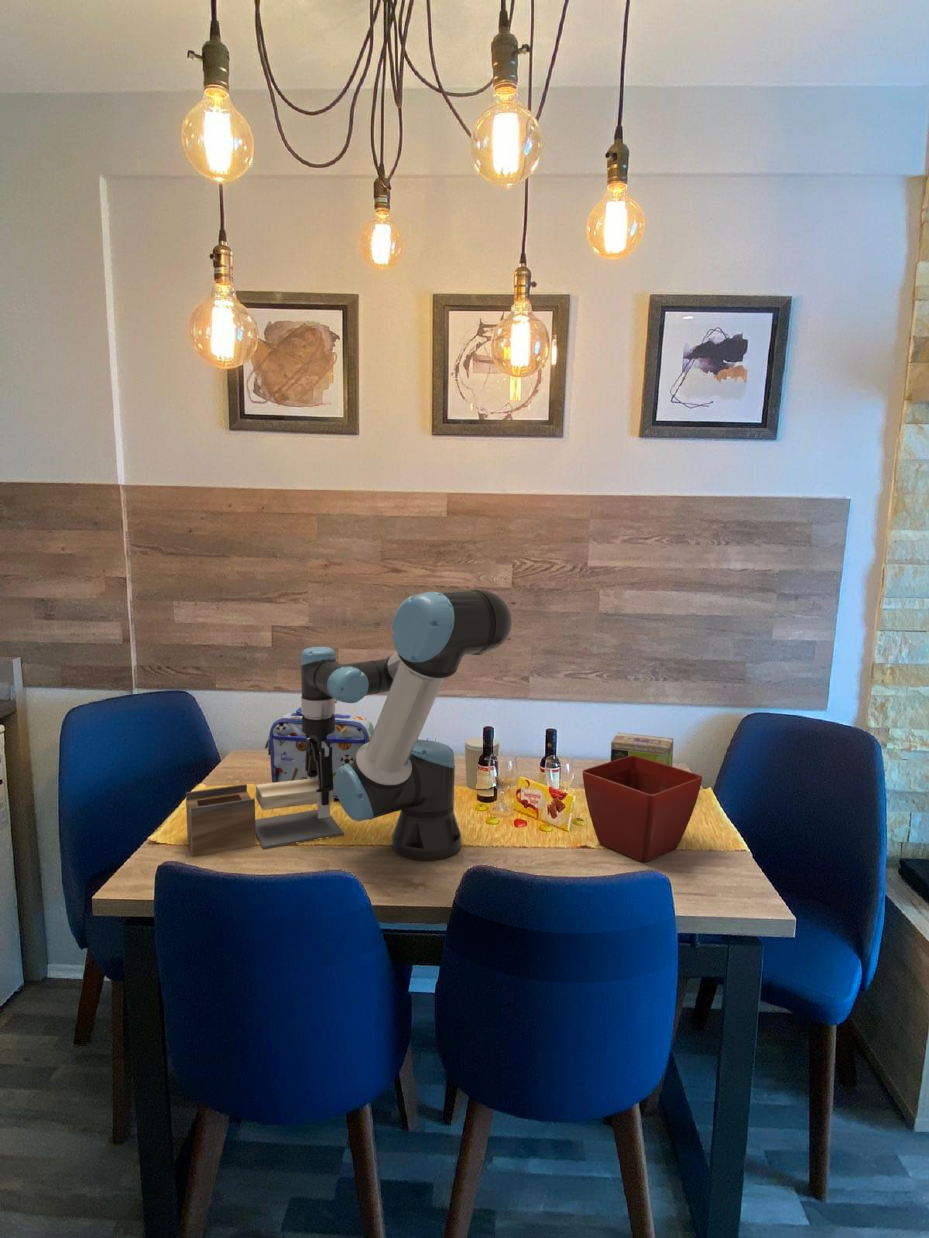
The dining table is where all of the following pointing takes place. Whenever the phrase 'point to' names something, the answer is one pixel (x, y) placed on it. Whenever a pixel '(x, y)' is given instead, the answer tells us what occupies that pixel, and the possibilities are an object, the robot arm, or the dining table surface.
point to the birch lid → (288, 793)
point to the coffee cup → (475, 758)
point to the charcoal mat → (294, 828)
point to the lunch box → (291, 745)
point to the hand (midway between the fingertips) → (318, 809)
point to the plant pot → (640, 805)
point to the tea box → (642, 747)
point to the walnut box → (220, 819)
